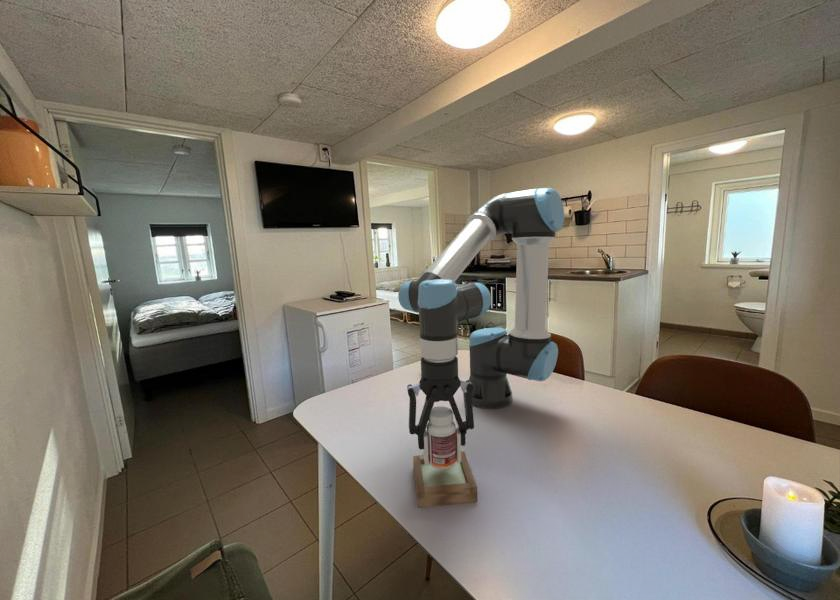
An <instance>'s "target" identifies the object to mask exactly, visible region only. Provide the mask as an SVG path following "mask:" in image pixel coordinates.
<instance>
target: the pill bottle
mask: <svg viewBox="0 0 840 600" xmlns="http://www.w3.org/2000/svg"><path fill="white" fill-rule="evenodd" d="M456 427H457V426H456V423H455V422H454V413H453V411H452V408H451V407H447V406H443V405H442V406H433V407H432V410H431V413H430V416H429V420H428V423H427V426H426V431H427V436H428V460H429V464H430V465H431V466H433V467H434V468H437V469H447V468H450V467H452V466H454V465H455V463H456V460H457V451H456V450H457V449H456Z"/></svg>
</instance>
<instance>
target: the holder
mask: <svg viewBox="0 0 840 600" xmlns="http://www.w3.org/2000/svg"><path fill="white" fill-rule="evenodd" d="M412 461H413V473H414V475H413V476H414V484H415V491H416V501H417V508H419V509H420V508H425V507H426V508H427V507H428V508H429V507H437V506H447V505H456V504H464V503H465V504H467V503H476V502H478V500H479V499H478V497H479V496H478V485H477V482H476V480H475V477H474V474H473V472H472V468H471V466H470V463H469V460H468V457H467V455H466V452H465V451H462V450H461V462H460V463H458V462H457V460H456V463H455V465H454V466H452V467H450V468H447V469H437V468H434V467H433V466H431V465H430V464H429V465H428V466H425V462H424V454H420V455H413V456H412Z"/></svg>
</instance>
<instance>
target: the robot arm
mask: <svg viewBox="0 0 840 600" xmlns="http://www.w3.org/2000/svg"><path fill="white" fill-rule="evenodd" d="M564 209H565V208H564V204H563V201H562V198H561V195H560V194H559V192H558V191H557V190H556V189H554V188H552V187H540V188H539V187H536V188H532V189H525V190H517V191H513V192H504V193H500V194H498V195H495V196H493V197H491V198H490V199H487V200H486V201H485V202H483V203H482V204H481V205H480V206H479V207H478V208H477V209H475V210H474V211H473V212H472V213H471V214H470V215H469V217H467V218H466V219H467V220H466V223H465V226H464V227H463V228H462V230H460V232H459V233H458V234H457V235H456V236H455V237H454V238H453V239H452V241H451V242H450V243H449V244H448V245H447V246H446V248H445V249H444V250H443V251H442V252H441V253H440V254H439V255H438V257H437V258H435V259H434V261H433V262H432V263H431V264H430V266H428V268H427V269H426V270H425V271H424V272H423V273H422V275H420V277H419V278H418V279H417V280H414V279H413V280H410V281H405V282H404V283H402V284H401V285H400V286H399V290H398V293H397V294H398V295H397V299H398V301H399V305H400V306H401V308H402V309H404V310H406V311H410V312H412V313H413V312H414V313H416V314H417V313H418V319H419V320H418V321H419V324H418V325H419V345H420V346H419V349H420V351H419V352H420V356H421V358H420V371H421V373H420V374H421V375H420V380H419V383H416V384H408V385H407V386H406V390H407V393H408V398H409V406H408V407H409V408H408V409H409V411H408V412H409V413H408V430H409V431H408V432H409V434H410V435H416V436H417V446H418V450H420V451H421V450H423V455H424V462H425V466H428V465H429V460H428V436H427V424H428V422H429V421H428V420H429V416H430V413H431V410H432V408H434V405H435V403H438V402H441V401H442V402H448V403H449V405H450V409H451V410H452V411H453V417H454V419H455V422H456V424H457V426H456V449H457V450H456V451H457V462H458V463H460V462H461V452H462V447H463V446H466V443H467V441H466V435H467V431H468V430H473V429H475V421H474V411H473V410H474V408H473V406H475V407H477V408H481V409H501V408H504V407H507V406H508V405H510V404H511V403H512V401H513V390H512V389H511V386H510V383H509V380H508V375H511V376H515V377H518V378H523V379H526V380H529V381H535V382H544V381H546V380H548V379H549V378H550V376H551V375H552V374H553V371H554V369H555V367H556V365H557V360H558V357H559V356H558V355H559V348H558V345H557V343H555V341H552V340H551V339H552V334H551V333H550V331H548V329H547V326H546V325H547V307H548V306H547V304H548V303H547V302H548V300H547V299H548V278H549V275H548V274H549V252H550V244H551V243H552V242H553V241H554V240H555V239H556V233H557V232H559V231H561V230H562V229H563V227H564V223H565V210H564ZM503 234H504V235H505V234H511V240H512V241H513V242H514V243H515V244H516V273H515V274H516V275H515V305H514V306H515V307H514V308H515V310H514V311H515V312H514V313H515V314H514V326H513V327H514V328H512V329H511V330H510V331H509V332H508V331H507V329H505V328H504V327H487V328H481V329H477V330H474V331H473V332H471V333H470V336H469V345H468V347H469V372H470V373H469V379H467V380H464V381H463V380H461V379H460V378H459V359H458V357H457V356H458V354H459V351H458V349H459V348H458V323H460V322H464V321H467V320H470V319H473V318H478V317H480V315H483V314H485V313H486V312H488V310H489V309H490V307H491V304H492V297H491V295H492V294H491V292H490V291H489V288H488V287H487V286H485V285H484V284H483V283H480V282H468V283H466V284H465V283H462V284H461V283H456V281H457V279H458V278H459V277H460V276H461V275H462V274H463V272H464V271H465V269H466V268H467V267H468V266H469V264H471V262H472V261H473V260H474V258H475V257H476V256H477V254H478V253H479V252H480V251H481V250H482V249H483V247H484V246H485V245H486V243H489V242H492V241H493V240H494V239H495V238H496V236H499V235H503ZM508 333H509V334H508ZM507 374H508V375H507ZM459 388H460V389H461V391H462V392H463V393H462V395H463V405H464V412H465V421H463V418H462V416H461V414H460V410H459V407H458V405H457V402H456V400H455V398H454V397H455V396H454V395H455V394H456V393H457V391H458V390H459ZM420 391H422V392H423V394H424V395H425V400H424V404H423V407H422V411H421V414H420V417H419V421H418V424H417V425H416V422H417V421H416V419H417V416H416V415H417V397H418V396H419V392H420Z"/></svg>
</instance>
